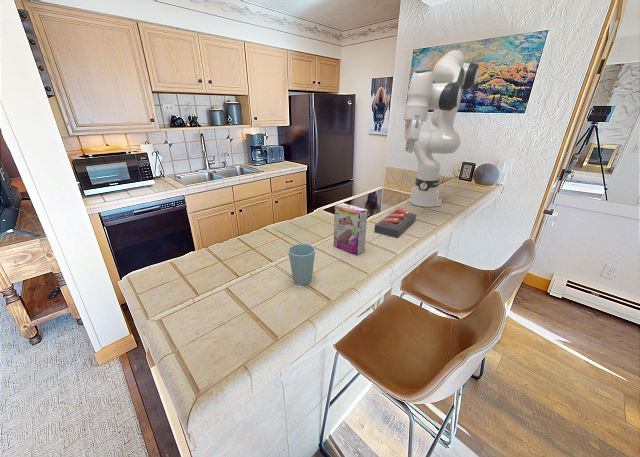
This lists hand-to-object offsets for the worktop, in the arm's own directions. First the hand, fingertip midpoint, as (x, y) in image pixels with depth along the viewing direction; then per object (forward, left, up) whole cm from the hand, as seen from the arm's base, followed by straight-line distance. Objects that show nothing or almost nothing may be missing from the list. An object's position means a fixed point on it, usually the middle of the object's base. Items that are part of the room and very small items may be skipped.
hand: (408, 151), depth 111 cm
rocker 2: (+4, 0, -27) cm, 27 cm away
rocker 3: (-3, 0, -27) cm, 27 cm away
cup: (+62, -7, -32) cm, 71 cm away
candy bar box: (+36, -6, -32) cm, 49 cm away
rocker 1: (+11, 0, -27) cm, 29 cm away
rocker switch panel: (+2, 0, -32) cm, 32 cm away
